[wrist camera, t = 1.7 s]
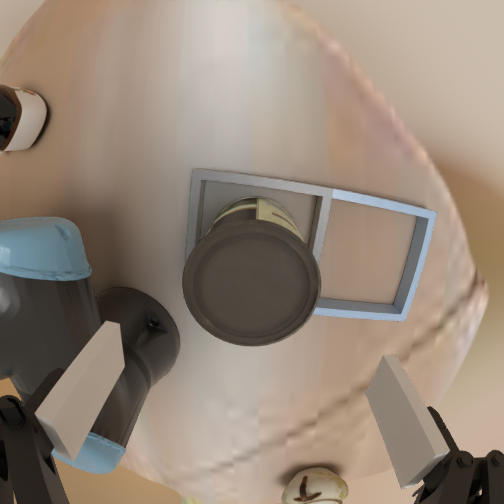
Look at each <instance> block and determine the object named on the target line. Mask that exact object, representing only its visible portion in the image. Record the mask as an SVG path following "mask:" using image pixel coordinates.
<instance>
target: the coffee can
mask: <svg viewBox="0 0 504 504" xmlns="http://www.w3.org/2000/svg"><path fill="white" fill-rule="evenodd" d="M182 286H183V294H184V298H185V301H186V304H187V307H188V309H189V311H190V312H191V314H192V315H193V317H194V318H195V320H196V321H197V322H198V323H199V324H200V325H201V326H202V327H203V328H204V329H205V330H206V331H208V332H209V333H210V334H212V335H213V336H215V337H217V338H219V339H221V340H223V341H225V342H228V343H232V344H236V345H241V346H264V345H269V344H273V343H276V342H279V341H282V340H284V339H286V338H288V337H289V336H291V335H293V334H294V333H296V332H297V331H298V330H299V329H300V328H301V327H303V326H304V324H305V323H306V322H307V321H308V320H309V319H310V317H311V316H312V314H313V312H314V310H315V309H316V306H317V304H318V301H319V297H320V292H321V276H320V271H319V267H318V264H317V261H316V259H315V257H314V255H313V254H312V252H311V250H310V249H309V248H308V246H307V245H306V244H305V242H304V240H303V238H302V237H301V235H300V233H299V231H298V229H297V227H296V226H295V223H294V221H293V219H292V217H291V215H290V214H289V212H288V211H287V210H286V209H285V208H284V207H282V206H281V205H280V204H278V203H277V202H275V201H273V200H271V199H268V198H264V197H260V196H250V197H244V198H240V199H238V200H235V201H233V202H232V203H230V204H228V205H227V206H226V207H225V208H224V209H223V210H222V211H221V212H220V213H219V215H218V216H217V218H216V220H215V222H214V223H213V225H212V226H211V228H210V229H209V230H208V232H207V233H206V234H205V236H204V237H203V238H202V239H201V240H200V241H199V242H198V243H197V244H196V246H195V247H194V248H193V250H192V251H191V253H190V255H189V257H188V259H187V261H186V264H185V267H184V272H183V282H182Z"/></svg>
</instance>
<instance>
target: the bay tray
mask: <svg viewBox="0 0 504 504" xmlns="http://www.w3.org/2000/svg"><path fill="white" fill-rule="evenodd" d="M206 180H210V181H219V182H228V183H236V184H244V185H252V186H259V187H266V188H273V189H280V190H287V191H293V192H299V193H306V194H312V195H317V202H316V208H315V214H314V219H313V225H312V230H311V236H310V241H309V246H308V248H309V249H310V250H311V252H312V254H313V255H314V257H315V259H316V261H317V264H318V266H319V262H320V257H321V252H322V248H323V243H324V238H325V233H326V227H327V222H328V217H329V211H330V206H331V200H332V198H334V199H340V200H345V201H350V202H356V203H361V204H366V205H371V206H375V207H380V208H385V209H390V210H394V211H399V212H403V213H407V214H412V215H416V216H418V218H417V223H416V227H415V231H414V235H413V240H412V244H411V247H410V251H409V255H408V259H407V262H406V266H405V269H404V273H403V276H402V279H401V283H400V286H399V289H398V292H397V295H396V298H395V301H394V304H393V305H389V304H377V303H366V302H355V301H345V300H335V299H325V298H319V301H318V304H317V306H316V309H315V310H314V312H313V315H324V316H335V317H347V318H361V319H375V320H392V321H405V319H406V316H407V313H408V311H409V308H410V305H411V302H412V300H413V297H414V294H415V291H416V288H417V285H418V282H419V278H420V275H421V272H422V269H423V265H424V262H425V258H426V255H427V251H428V247H429V243H430V239H431V235H432V231H433V227H434V223H435V218H436V214H437V212H435V211H432V210H429V209H426V208H423V207H419V206H415V205H411V204H407V203H403V202H398V201H394V200H390V199H385V198H381V197H377V196H372V195H367V194H363V193H358V192H353V191H348V190H343V189H338V188H332V187H327V186H321V185H316V184H310V183H304V182H298V181H292V180H285V179H279V178H272V177H265V176H258V175H250V174H242V173H234V172H226V171H216V170H207V169H193V173H192V183H191V193H190V203H189V215H188V227H187V241H186V257H185V264H186V261H187V259H188V257H189V255H190V253H191V251H192V250H193V248H194V247H195V246H196V244H197V243H198V242H199V241H200V231H201V220H202V210H203V200H204V190H205V181H206Z"/></svg>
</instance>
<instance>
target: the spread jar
mask: <svg viewBox="0 0 504 504" xmlns="http://www.w3.org/2000/svg"><path fill="white" fill-rule="evenodd" d="M47 112H48V110H47V105H46V102H45V100H44V99H43V98H42V97H41V96H40V95H38V94H37V93H35V92H33V91H30V90H28V89H25V88H20V87H15V86H9V85H0V155H2V154H3V153H4V152H5V151H15V150H24V149H27V148H29V147H30V146H31V145H32V144H33V143H34V142H35V141H36V139H37V138H38V136H39V135H40V133H41V131H42V129H43V127H44V124H45V122H46V118H47Z"/></svg>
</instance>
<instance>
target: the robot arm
mask: <svg viewBox="0 0 504 504" xmlns="http://www.w3.org/2000/svg"><path fill="white" fill-rule="evenodd" d="M91 273H92V268H91V266H90V265H89V263H88V261H87V257H86V253H85V249H84V245H83V240H82V236H81V233H80V231H79V229H78V227H77V226H76V225H75V224H74V223H73V222H72V221H70V220H68V219H65V218H61V217H27V218H16V219H8V220H1V221H0V380H3V379H6V378H10V380H11V381H12V383H13V385H14V387H15V388H16V390H17V392H18V394H19V395H20V397H21V401H20V400H19V399H18V398H17V397H15V396H12V395H5V396H2V397H1V398H0V504H14V498H13V497H14V495H13V490H14V494H15V498H16V501H17V504H70V503H69V501H68V498H67V496H66V494H65V491H64V488H63V486H62V483H61V480H60V477H59V474H58V471H57V468H56V465H55V462H54V459H53V456H54V457H55V458H57V459H59V460H61V461H63V462H65V463H67V464H69V465H71V466H73V467H75V468H78V469H81V470H83V471H87V472H90V473H95V474H105V473H109V472H112V471H113V470H115V468H116V467H117V465H118V463H119V461H120V460H121V458H122V456H123V454H124V453H125V452H126V449H125V448H126V445H127V443H128V440H129V438H130V435H131V433H132V430H133V428H134V425H135V423H136V421H137V418H138V416H139V413H140V411H141V408H142V406H143V404H144V401H145V399H146V397H147V394H148V392H149V390H150V388H151V387H152V386H153V385H154V384H156V383H157V382H158V381H159V380H160V379H161V378H162V377H163V376H164V375H166V374H167V373H168V372H169V371H170V370H171V368H172V367H173V365H174V363H175V361H176V358H177V356H178V353H179V349H180V337H179V333H178V330H177V327H176V325H175V323H174V321H173V319H172V318H171V316H170V315H169V314H168V312H167V311H166V310H165V309H164V308H163V307H162V306H161V305H160V304H159V303H158V302H156V301H155V300H154V299H152V298H151V297H149V296H148V295H146V294H144V293H142V292H139V291H137V290H134V289H130V288H123V287H117V288H111V289H107V290H105V291H103V292H101V293H100V294H99V295H98V296H95V293H94V288H93V284H92V280H91ZM366 396H367V398H368V401H369V403H370V406H371V408H372V411H373V413H374V416H375V419H376V421H377V424H378V426H379V429H380V432H381V434H382V437H383V440H384V442H385V445H386V448H387V450H388V453H389V456H390V459H391V461H392V464H393V467H394V470H395V473H396V476H397V478H398V481H399V484H400V487H401V489H405V488H409V487H412V486H415V485H416V484H418V483H419V482H420V481H421V480H422V479H423V481H424V484H423V486H421V487H420V488H419V489H418V490H417V491H416V492H414V494H413V495H412V496H413V497H414V496H415V495H416V494H417V493H418V496H417V497H416V500H415V502H414V504H504V454H503V453H502V452H500V451H498V450H492V451H491V452H489V453H488V454H487V456H486V457H482V458H474V457H473V456H472V455H471V454H470V453H469V452H467V451H460V450H459V449H458V447H457V445H456V443H455V442H454V440H453V438H452V436H451V434H450V432H449V431H448V429H446V426H445V424H444V422H443V420H442V418H441V417H440V415H439V413H438V412H437V411H436V410H435V409H434V408H432V407H431V406H430V407H426V405H425V403H424V402H423V400H422V398H421V396H420V395H419V393H418V391H417V390H416V388H415V386H414V384H413V383H412V381H411V379H410V378H409V376H408V374H407V373H406V371H405V369H404V368H403V366H402V365H401V363H400V361H399V360H398V358H397V356H396V355H383V357H382V359H381V361H380V364H379V366H378V368H377V370H376V372H375V374H374V377H373V379H372V381H371V383H370V385H369V387H368V389H367V391H366ZM481 489H482V494H481V495H479V491H480V490H481Z"/></svg>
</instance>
